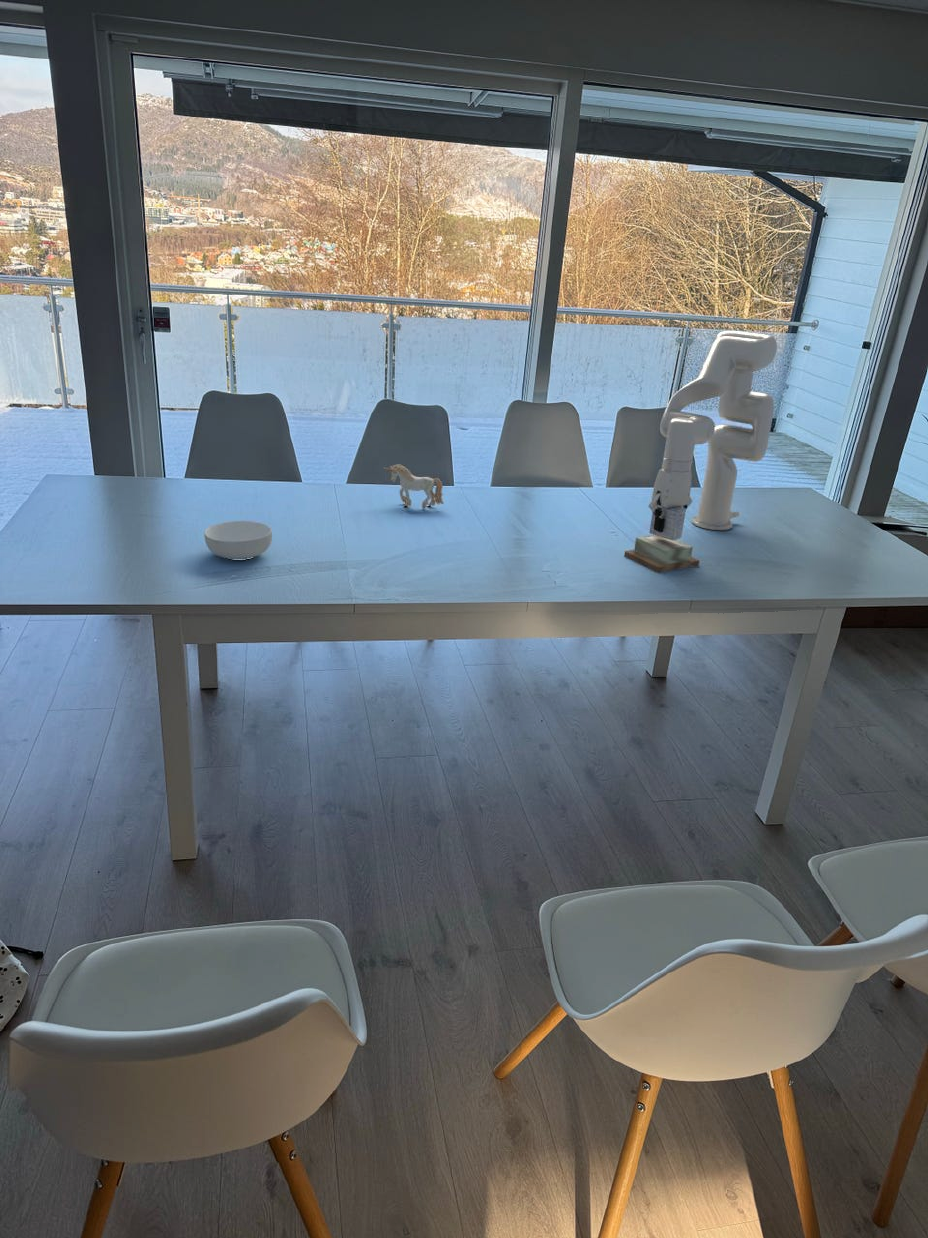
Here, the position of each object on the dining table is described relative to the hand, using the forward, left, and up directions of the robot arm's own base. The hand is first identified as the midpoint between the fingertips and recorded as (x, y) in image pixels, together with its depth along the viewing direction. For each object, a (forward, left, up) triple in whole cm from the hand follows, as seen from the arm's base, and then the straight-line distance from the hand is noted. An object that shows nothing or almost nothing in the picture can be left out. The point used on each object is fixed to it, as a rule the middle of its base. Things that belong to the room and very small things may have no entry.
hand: (666, 529), depth 244 cm
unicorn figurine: (+44, -66, -10) cm, 80 cm away
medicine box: (0, 0, -2) cm, 2 cm away
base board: (0, 0, -9) cm, 9 cm away
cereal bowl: (+106, -45, -10) cm, 115 cm away
